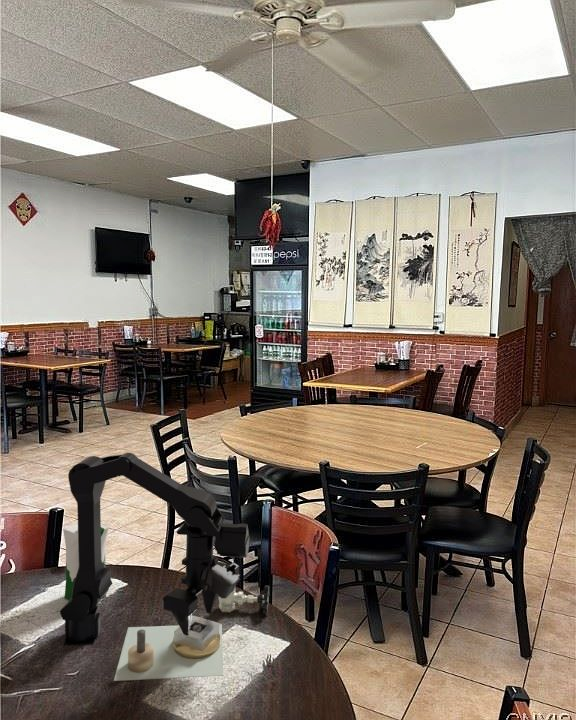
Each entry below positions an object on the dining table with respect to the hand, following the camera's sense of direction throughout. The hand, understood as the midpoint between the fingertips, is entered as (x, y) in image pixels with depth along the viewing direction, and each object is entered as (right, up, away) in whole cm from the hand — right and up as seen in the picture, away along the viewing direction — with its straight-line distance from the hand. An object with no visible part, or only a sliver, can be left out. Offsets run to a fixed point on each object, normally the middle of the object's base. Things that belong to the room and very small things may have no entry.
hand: (198, 623), depth 119 cm
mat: (-5, -5, -2) cm, 7 cm away
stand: (-10, -5, -7) cm, 14 cm away
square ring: (0, -3, 0) cm, 3 cm away
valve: (+8, -5, +15) cm, 18 cm away
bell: (0, -5, 0) cm, 5 cm away
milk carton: (-31, -3, +18) cm, 36 cm away
